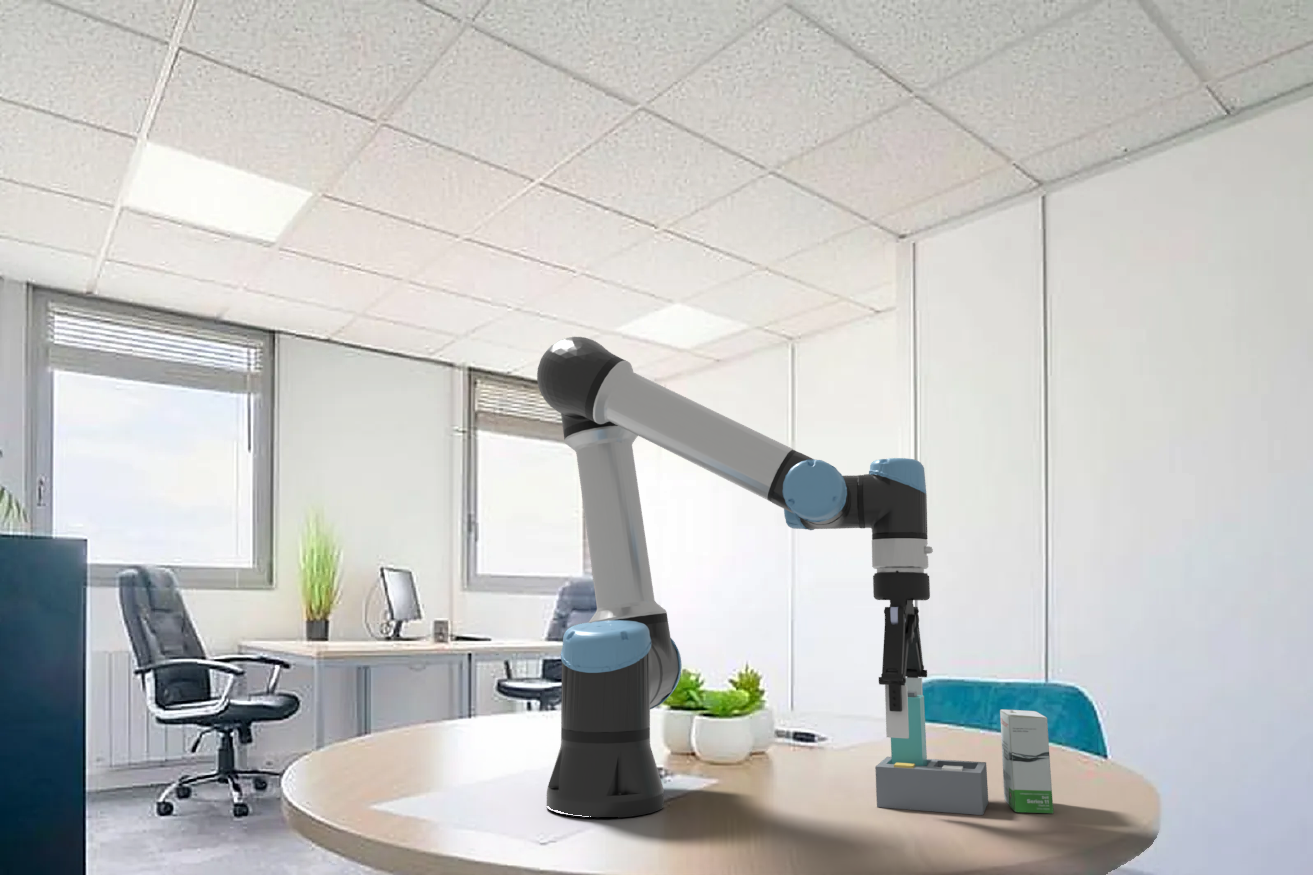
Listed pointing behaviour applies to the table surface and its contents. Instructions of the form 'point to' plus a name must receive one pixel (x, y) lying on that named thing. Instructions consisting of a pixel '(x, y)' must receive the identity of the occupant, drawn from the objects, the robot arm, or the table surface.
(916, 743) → the plug
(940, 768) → the socket block
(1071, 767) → the table surface
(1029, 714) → the ink box
